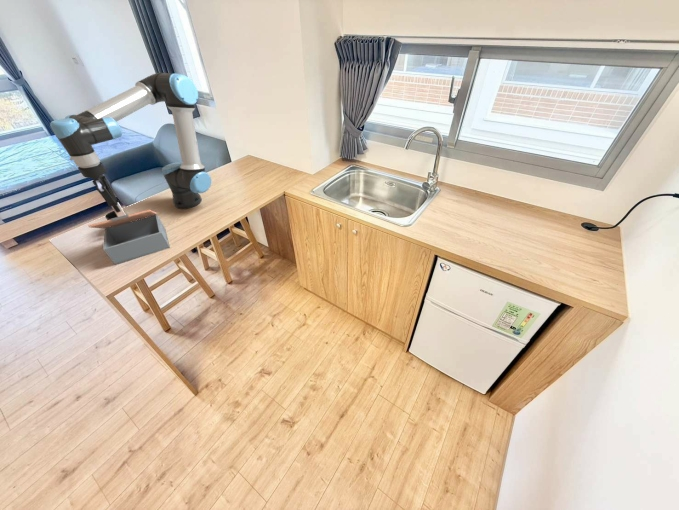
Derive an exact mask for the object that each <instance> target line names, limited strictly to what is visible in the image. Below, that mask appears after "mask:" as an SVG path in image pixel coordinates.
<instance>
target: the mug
mask: <svg viewBox="0 0 679 510" xmlns="http://www.w3.org/2000/svg"><path fill="white" fill-rule="evenodd" d="M123 211H124V212H125V214H126V215H128V214H127V213H126V211H125V210H124V209H123ZM116 217H118V216H117V215H116V213H115V211H114V210H112V211H110V212H108V213H107V214H106V215H105V219H106V221H107V220H111V219H112V218H116Z"/></svg>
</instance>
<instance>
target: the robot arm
mask: <svg viewBox="0 0 679 510" xmlns="http://www.w3.org/2000/svg"><path fill="white" fill-rule="evenodd" d="M198 100H199V91H198V88H197V86H196V84H195V83H194V81H193V80H191V78H190V77H188V76H187V75H185V74H180V73H172V72H171V73H170V72H169V73H168V72H156V73H153V74H151V75H149V76H147V77H145V78H143V79H140V80H138V81H136V82H135V85H134V86H133V87H132V88H129V89H127V90H125V91H123V92H121V93H119V94H117V95H115V96H113V97H111V98H109V99H107V100H105V101H102V102H101V103H99V104H97V105H94V106H93V107H91V108H88V109H87V110H84V111H82V112H80V113H78V114H68V115H67V116H65V118H59V119H55V120H53V121H51V122H50V123H49V125H50V128H51V130H52V132H53V133H54V135H55V138H57V140H58V141H59V142H60V144H61V145H62V147H63V148H64V149H65V151H66V153H68V155H69V156H70V157H69V160H70V161H73V163H74V164H75V165H76V167H77V169H78V171H79V172H80V173H81V175H82V176H83V178H91V179H92V184H93V185H94V186H95V189H96V191H97V192H98V193H99V194H100V195H101V197H102V198H103V199H104V201H105V202H106V203H107V205H108V207H111V208H112V211H115V213H116V215H117V216H118V217H120V216H124V215H126V214H127V213H126V211H125V210H124V209H123V207H122V206H121V204H120V203H119V202H120V201H121V200H120V199H118V197H117V195H116V193H115V192H114V190H113V189H112V187H111V185H110V183H109V182H108V180H107V177H106V175H105V174H106V173H107V169H106V168H105V166H104V164H103V162H101V158H100V157H99V155H98V153H97V152H96V150H95V149H94V147H93V145H97V144H102V143H104V142H108V141H111V140H116V139H118V138H121V137H122V135H123V130H122V128H121V126H120V125H119V123H118V121H120V120H123V119H124V118H126V117H128V116H130V115H132V114H133V113H135V112H137V111H139V110H141V109H142V108H144V107H146V106H148V105H152V106H154V105H156V104H158V103H163V102H166V107H167V108H168V109H169V110H170V111H171V113H172V118H173V123H174V129H175V134H176V137H177V145H178V149H179V154H180V159H181V161H177V162H176V161H175V162H173V163H169V164H166V165H164V166H163V167H162V168H161V172H162V175H163V177H164V179H165V180H166V183H167V185H168V188H169V189H170V191H171V194H172V195H171V196H172V203H173V206H174V207H175V208H176V209H181V210H182V209H183V210H186V209H190V208H194V207H196V206H198V205H199V204H201V203H202V201H203V199H202V196H201V195H200V194H204V193H206V192H208V191H209V189H210V188H211V186H212V178H211V175H210V174H209V173H207V172H206V168H205V165H204V164H202V161H201V156H200V151H199V144H198V139H197V133H196V127H195V121H194V116H193V115H194V114H193V112H194V111H195V110H196V106H195V104H196V103H197V101H198ZM123 210H124V211H125V212H124V211H123ZM125 213H126V214H125Z"/></svg>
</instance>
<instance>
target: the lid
mask: <svg viewBox="0 0 679 510" xmlns="http://www.w3.org/2000/svg"><path fill="white" fill-rule="evenodd" d="M154 215H158V213H157V212H155V211H154V210H151V209H150V208H149V209H146V210H142V211H139V212H134V213H131V214H127V215H124V216H120V217H116V218H112V219H111V220H107V219H106V220H104V221H100V222H96V223H91V224H88V225H87V226H88V228H93V229H103V230H105V229H106V228H109V227H113V226H117V225H120V224H124V223H128V222H132V221H135V220H139V219H143V218H147V217H150V216H154Z"/></svg>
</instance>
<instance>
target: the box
mask: <svg viewBox="0 0 679 510" xmlns="http://www.w3.org/2000/svg"><path fill="white" fill-rule="evenodd" d="M103 230H104V233H103V234H104V235H103V251H104V252H105V254H106V255H107V256H108V258H110V260H111V262H113V264H114V265H115V266H116V265H119V264H123V263H125V262H130V261H133V260H136V259H140V258H142V257H145V256H148V255H151V254H155V253H157V252H158V253H159V252H160V251H164V250H168V249H170V248H171V245H170V243H169V239H168V234H167V231H166V228H165V225H164V223H163V222H162V221H161V218H160V217H159V215H158V214H157V215H154V216H150V217H146V218H143V219H139V220H135V221H131V222H128V223H124V224H120V225H117V226H113V227H109V228H105V229H103Z"/></svg>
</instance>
